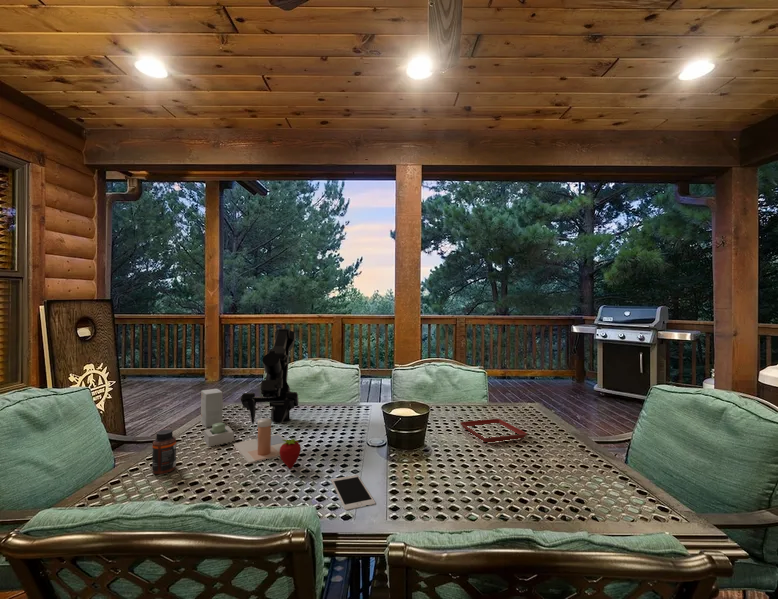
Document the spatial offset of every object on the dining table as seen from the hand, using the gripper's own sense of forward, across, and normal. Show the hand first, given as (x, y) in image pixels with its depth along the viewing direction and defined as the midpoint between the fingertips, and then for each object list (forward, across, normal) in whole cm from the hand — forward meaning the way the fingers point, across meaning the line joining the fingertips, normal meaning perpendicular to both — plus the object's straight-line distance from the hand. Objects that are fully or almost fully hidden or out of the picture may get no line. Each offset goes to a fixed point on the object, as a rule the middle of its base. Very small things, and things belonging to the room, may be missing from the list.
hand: (266, 422), depth 123 cm
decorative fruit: (+17, +10, -4) cm, 20 cm away
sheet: (+6, -1, +7) cm, 9 cm away
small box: (-13, -27, +27) cm, 40 cm away
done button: (-2, -18, +11) cm, 22 cm away
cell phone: (+28, +28, -15) cm, 42 cm away
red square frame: (+3, +81, +10) cm, 82 cm away
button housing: (0, -18, +13) cm, 22 cm away
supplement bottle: (+15, -26, -3) cm, 31 cm away
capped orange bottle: (+9, 0, +3) cm, 9 cm away
